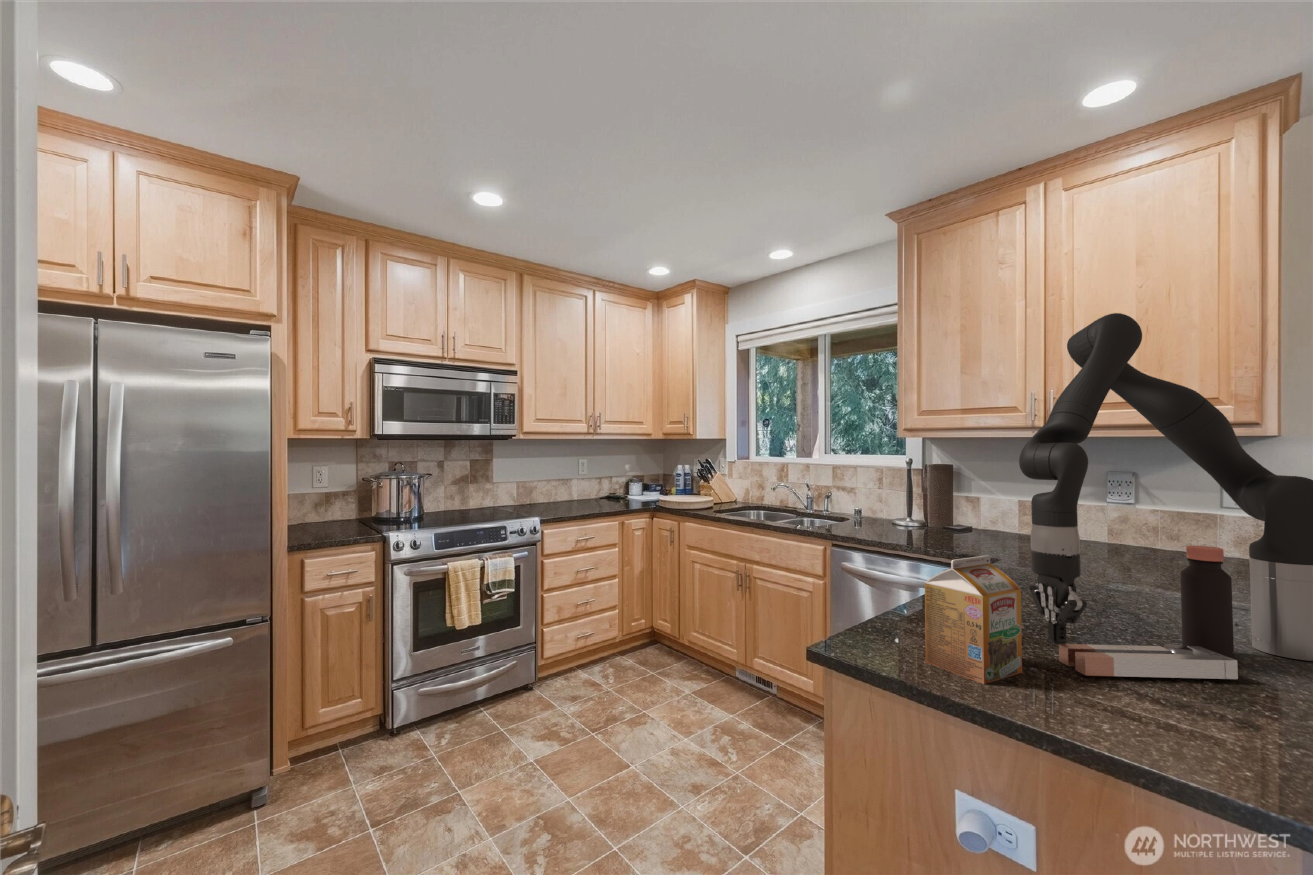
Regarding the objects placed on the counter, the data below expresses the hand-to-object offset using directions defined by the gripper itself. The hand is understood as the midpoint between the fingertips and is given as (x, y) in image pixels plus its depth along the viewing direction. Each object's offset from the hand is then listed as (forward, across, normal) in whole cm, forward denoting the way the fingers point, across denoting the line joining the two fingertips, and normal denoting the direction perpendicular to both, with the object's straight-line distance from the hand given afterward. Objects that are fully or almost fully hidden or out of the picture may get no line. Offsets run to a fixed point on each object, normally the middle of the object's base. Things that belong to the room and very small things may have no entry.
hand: (1057, 642), depth 103 cm
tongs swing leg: (+2, +7, +7) cm, 10 cm away
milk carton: (+2, +8, -19) cm, 21 cm away
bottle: (+2, 0, +27) cm, 27 cm away
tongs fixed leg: (+1, +9, +9) cm, 12 cm away
